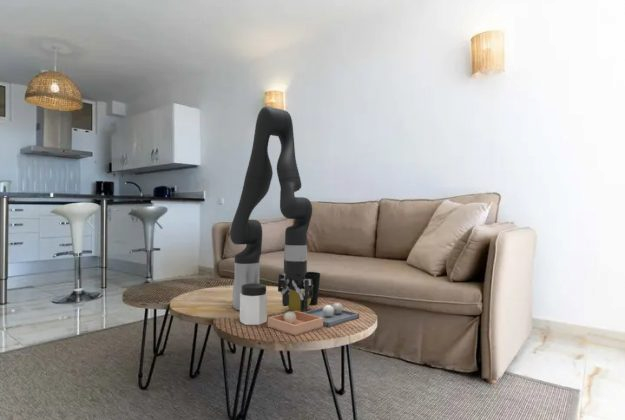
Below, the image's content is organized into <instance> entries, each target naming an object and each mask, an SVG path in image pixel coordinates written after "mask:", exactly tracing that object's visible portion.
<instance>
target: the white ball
mask: <svg viewBox="0 0 625 420" xmlns="http://www.w3.org/2000/svg"><path fill="white" fill-rule="evenodd" d="M284 314H285V315H284V321H285V322H287V323H290V324H293V323H294V322H295V321H296V315H295V313H294V312H292V311H290V310H289V311H286V312H284Z"/></svg>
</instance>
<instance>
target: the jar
mask: <svg viewBox="0 0 625 420" xmlns="http://www.w3.org/2000/svg"><path fill="white" fill-rule="evenodd" d="M239 322H240V323H242V324H243V325H245V326H260V325H262V324H264V323H266V322H267V323H268V293H267V285H266V284H263V283H259V284H258V283H251V284H244V285H242V286H241V293H240V310H239Z"/></svg>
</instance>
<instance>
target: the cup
mask: <svg viewBox="0 0 625 420" xmlns="http://www.w3.org/2000/svg"><path fill="white" fill-rule="evenodd" d="M305 279H312V281H313V298H311V302H310V304H309V306H316V305H318V302H319V301H318V300H319V289H320V280H321V272H318V271H317V272H316V271H307V273H306V274H305Z"/></svg>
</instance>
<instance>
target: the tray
mask: <svg viewBox="0 0 625 420" xmlns="http://www.w3.org/2000/svg"><path fill="white" fill-rule="evenodd" d="M322 310H323V307H320V308H315V309H311V310H306V311H305V312H303V313H307V314H310V315H314V316H318V317H321V318H323V327H325V326H326V328H330V326H331V327H333V326H334V327H335V326H336V325H339V324H343V323H347V322H351V321H353V320H356V319H359V318H360V312H359V313H358V312H355V311H351V310H346V309H343V311H342V312H341V313H340V314H335V313H333V315H332V316H330V317H326V316H325V315H324V314H323V311H322Z"/></svg>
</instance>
